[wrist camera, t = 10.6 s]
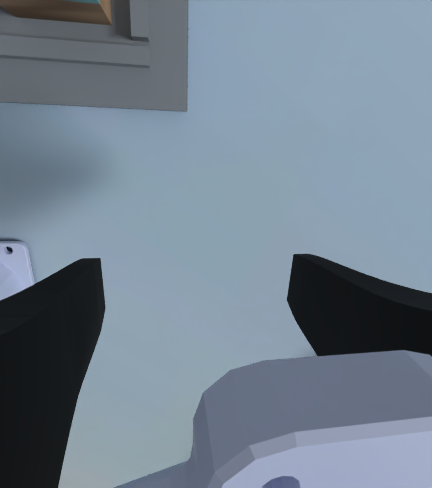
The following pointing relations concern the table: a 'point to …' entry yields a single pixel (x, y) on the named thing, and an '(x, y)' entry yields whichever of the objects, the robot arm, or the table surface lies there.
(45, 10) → the block stack
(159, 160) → the table surface
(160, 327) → the table surface
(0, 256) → the robot arm
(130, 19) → the plate
